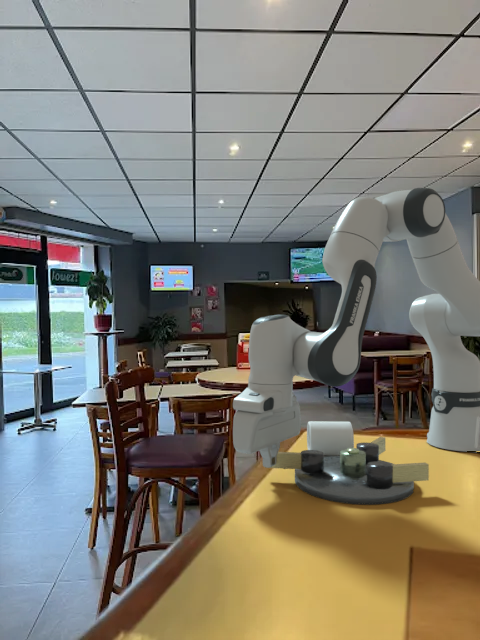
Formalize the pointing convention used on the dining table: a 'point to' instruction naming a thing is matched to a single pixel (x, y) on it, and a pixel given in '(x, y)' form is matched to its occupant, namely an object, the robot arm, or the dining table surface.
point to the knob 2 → (372, 449)
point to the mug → (329, 437)
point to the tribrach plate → (349, 481)
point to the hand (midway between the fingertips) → (269, 465)
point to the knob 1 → (301, 461)
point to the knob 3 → (395, 473)
